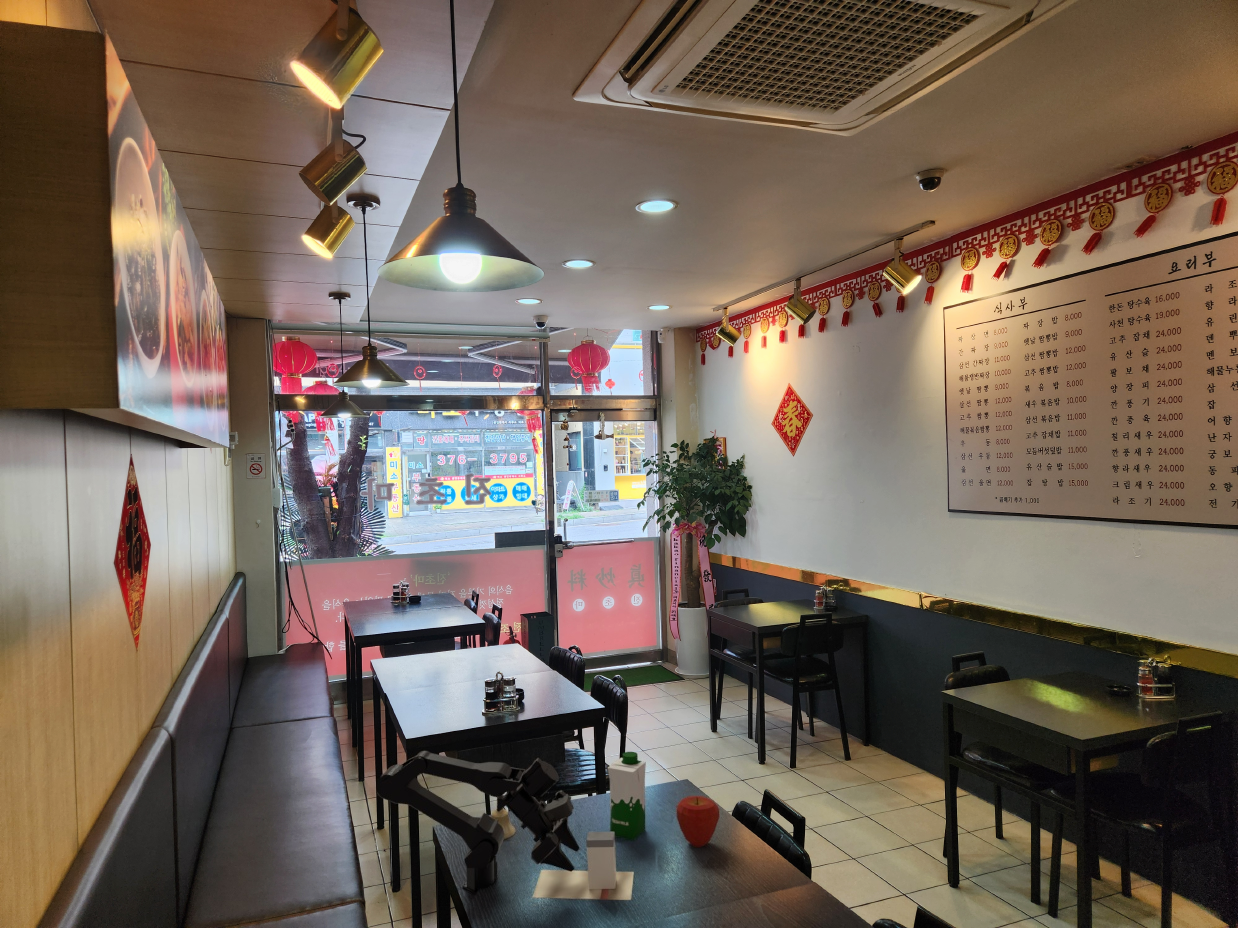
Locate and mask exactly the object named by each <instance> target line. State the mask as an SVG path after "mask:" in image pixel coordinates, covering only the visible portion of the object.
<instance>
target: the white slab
mask: <svg viewBox="0 0 1238 928" xmlns="http://www.w3.org/2000/svg"><path fill="white" fill-rule="evenodd" d="M586 854H587V855H586V857H587V871H588V880H589V889H615V887H616V880H617V878H616V872H617V863H616V862H617V861H616V837H615V832H610V831H588V832H587V836H586Z"/></svg>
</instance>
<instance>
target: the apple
mask: <svg viewBox="0 0 1238 928" xmlns="http://www.w3.org/2000/svg"><path fill="white" fill-rule="evenodd" d="M676 819H677V823H678V826H679V828H680V831H681V832H682V834H683V835H682V836H683V837H684V839H685V840H686V841H687V842H688V843H689V844H690V845H691V846H693V847H694V848H701V847H704V846H705V845H706V844H708V843H709V842H711V840H712V837H713V835H714V834H715V831H716V828H717V825H718V822H719V820H720V807H719V805H718V804H717V803H715V801H713V800H712V799H710V798H709V797H705V796H701V795H691V796H686V797H684V798H683V799H681V800H680V801H679V802H678V803H677V805H676Z"/></svg>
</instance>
